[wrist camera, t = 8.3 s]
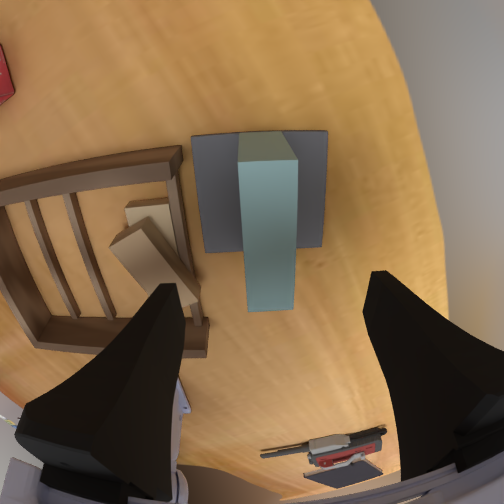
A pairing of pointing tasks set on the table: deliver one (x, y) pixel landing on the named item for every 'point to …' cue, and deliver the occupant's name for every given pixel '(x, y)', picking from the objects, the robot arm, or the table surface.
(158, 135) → the table surface
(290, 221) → the teal rectangular block
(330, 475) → the notebook
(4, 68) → the ink box
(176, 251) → the offcut lower
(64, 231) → the table surface
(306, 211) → the pad
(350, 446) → the walkie-talkie
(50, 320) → the rack
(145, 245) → the offcut upper
